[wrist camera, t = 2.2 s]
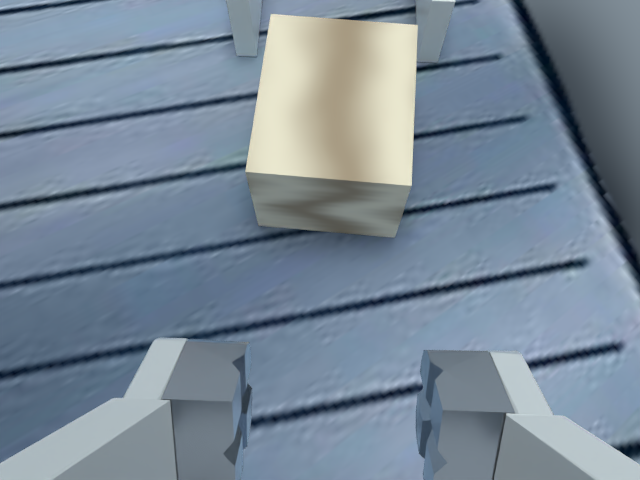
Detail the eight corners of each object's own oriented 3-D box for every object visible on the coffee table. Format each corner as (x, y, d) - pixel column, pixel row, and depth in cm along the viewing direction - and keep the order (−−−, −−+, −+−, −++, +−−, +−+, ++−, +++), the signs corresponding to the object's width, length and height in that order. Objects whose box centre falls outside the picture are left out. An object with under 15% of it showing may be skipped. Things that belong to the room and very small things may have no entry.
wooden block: (258, 226, 38) (245, 171, 31) (278, 89, 43) (270, 14, 36) (394, 238, 38) (411, 185, 31) (401, 99, 42) (417, 25, 35)
